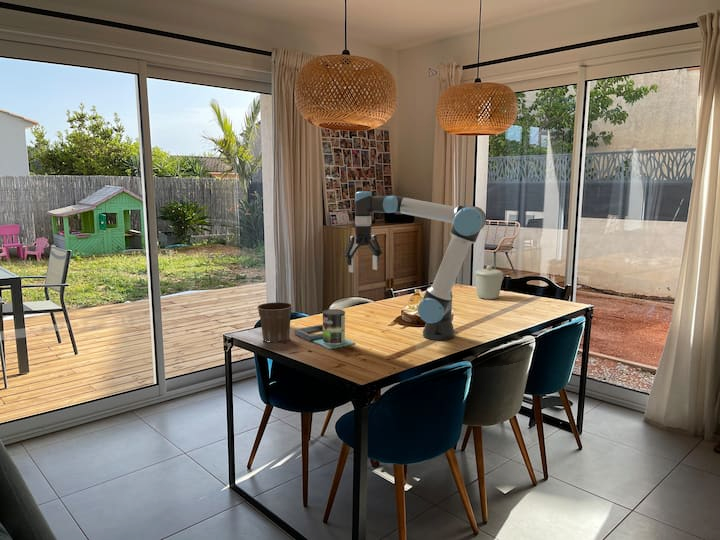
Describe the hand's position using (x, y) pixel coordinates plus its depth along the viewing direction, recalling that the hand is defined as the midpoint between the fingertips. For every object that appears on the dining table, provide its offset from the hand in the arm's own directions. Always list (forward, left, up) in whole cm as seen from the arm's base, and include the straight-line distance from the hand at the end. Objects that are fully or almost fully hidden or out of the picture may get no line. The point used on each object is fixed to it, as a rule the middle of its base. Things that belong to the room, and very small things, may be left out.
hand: (363, 270), depth 252 cm
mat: (+17, +1, -32) cm, 36 cm away
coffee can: (+17, +1, -31) cm, 36 cm away
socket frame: (+17, -15, -32) cm, 39 cm away
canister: (-117, -27, -32) cm, 124 cm away
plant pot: (+36, -20, -32) cm, 52 cm away
